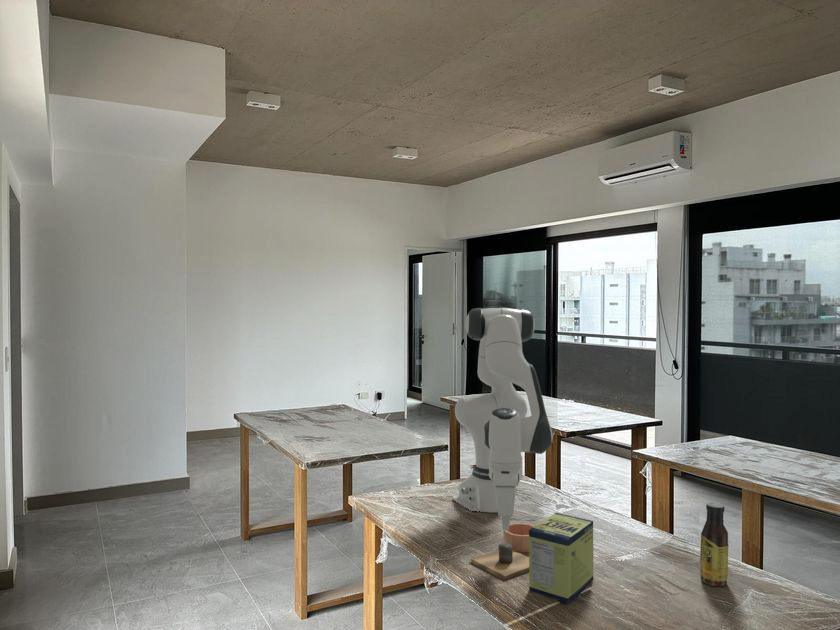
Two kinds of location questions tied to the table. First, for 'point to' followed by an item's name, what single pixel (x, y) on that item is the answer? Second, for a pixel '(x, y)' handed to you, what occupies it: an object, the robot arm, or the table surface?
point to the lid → (503, 562)
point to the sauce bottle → (714, 547)
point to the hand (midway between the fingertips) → (506, 523)
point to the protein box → (561, 557)
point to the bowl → (518, 536)
